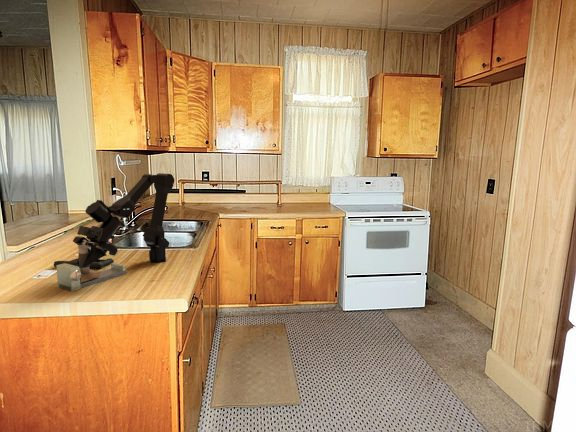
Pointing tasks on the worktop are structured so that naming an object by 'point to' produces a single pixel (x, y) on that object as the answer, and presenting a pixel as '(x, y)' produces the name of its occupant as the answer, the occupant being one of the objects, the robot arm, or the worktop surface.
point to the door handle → (95, 265)
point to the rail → (71, 276)
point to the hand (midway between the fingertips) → (80, 265)
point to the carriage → (86, 271)
